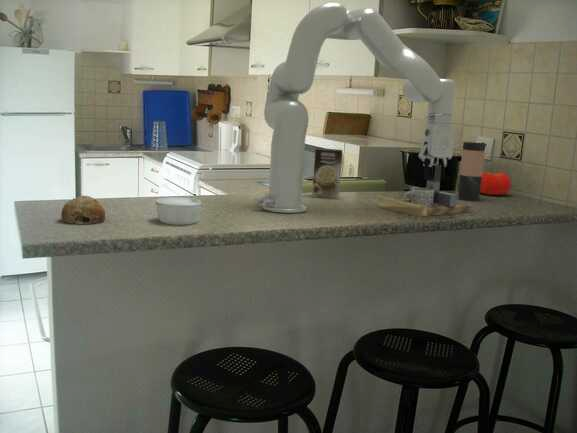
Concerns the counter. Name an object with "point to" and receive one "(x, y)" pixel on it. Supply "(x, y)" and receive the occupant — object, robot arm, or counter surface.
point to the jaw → (434, 184)
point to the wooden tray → (420, 207)
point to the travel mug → (471, 171)
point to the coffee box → (327, 173)
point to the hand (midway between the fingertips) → (433, 178)
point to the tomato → (495, 184)
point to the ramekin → (178, 210)
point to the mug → (421, 196)
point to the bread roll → (83, 211)
